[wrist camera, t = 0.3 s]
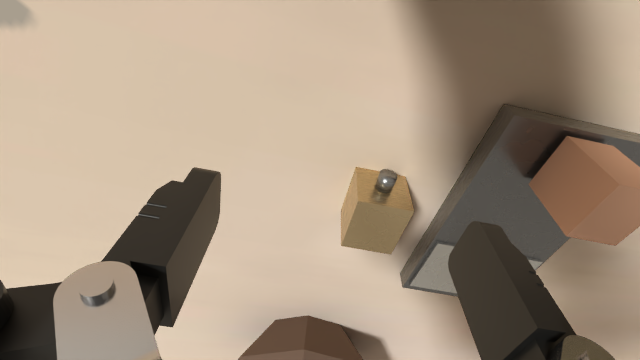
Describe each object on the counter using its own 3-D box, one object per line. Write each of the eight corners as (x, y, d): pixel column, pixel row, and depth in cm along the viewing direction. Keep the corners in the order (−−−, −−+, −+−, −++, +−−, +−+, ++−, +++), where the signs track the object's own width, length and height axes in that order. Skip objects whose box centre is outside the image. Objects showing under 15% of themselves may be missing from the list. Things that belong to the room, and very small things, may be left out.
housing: (360, 153, 30) (363, 187, 26) (410, 163, 30) (421, 198, 26) (341, 209, 35) (341, 245, 31) (385, 217, 35) (390, 254, 31)
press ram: (566, 135, 25) (619, 184, 20) (613, 145, 25) (675, 196, 20) (528, 184, 28) (566, 236, 23) (569, 192, 28) (615, 245, 24)
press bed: (504, 103, 26) (516, 117, 24) (645, 135, 27) (667, 150, 25) (400, 273, 41) (402, 289, 39) (494, 289, 42) (501, 305, 40)
